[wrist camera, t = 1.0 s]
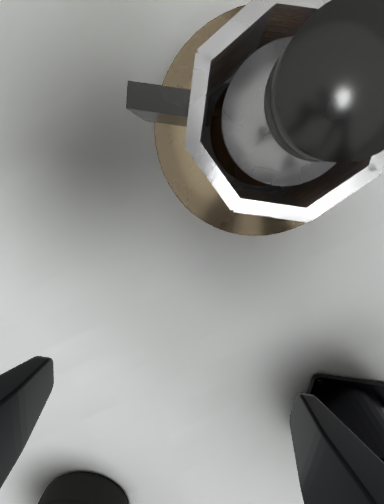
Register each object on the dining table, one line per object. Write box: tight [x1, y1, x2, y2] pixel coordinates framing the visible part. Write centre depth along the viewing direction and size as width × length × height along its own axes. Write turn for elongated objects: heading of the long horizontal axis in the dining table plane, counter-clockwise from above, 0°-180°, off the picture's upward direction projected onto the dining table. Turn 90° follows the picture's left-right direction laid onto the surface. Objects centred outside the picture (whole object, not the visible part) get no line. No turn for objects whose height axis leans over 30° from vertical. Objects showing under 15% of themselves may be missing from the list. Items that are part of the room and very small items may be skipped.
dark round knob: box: [221, 0, 384, 186], centre depth 9 cm, size 5×5×6 cm
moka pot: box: [126, 0, 384, 236], centre depth 14 cm, size 13×13×7 cm
